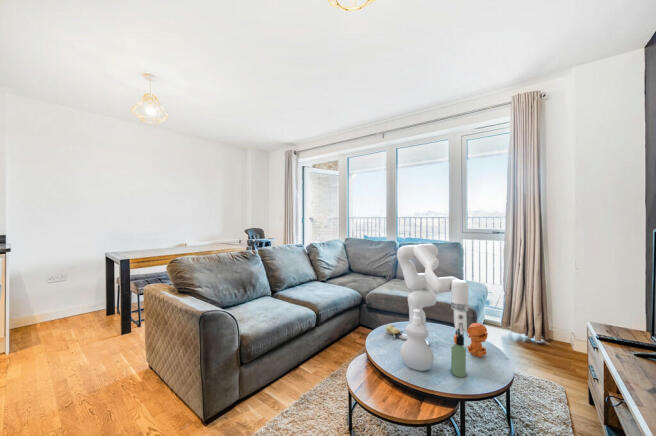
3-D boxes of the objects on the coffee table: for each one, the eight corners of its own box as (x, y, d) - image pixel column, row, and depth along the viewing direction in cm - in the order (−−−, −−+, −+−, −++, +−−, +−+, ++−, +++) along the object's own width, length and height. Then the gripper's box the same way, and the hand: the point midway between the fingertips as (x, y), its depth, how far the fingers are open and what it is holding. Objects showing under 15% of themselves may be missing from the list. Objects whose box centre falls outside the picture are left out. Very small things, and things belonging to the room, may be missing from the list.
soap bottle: (436, 366, 138) (436, 309, 138) (431, 377, 129) (431, 317, 128) (404, 356, 148) (404, 304, 147) (396, 366, 138) (396, 310, 138)
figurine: (409, 340, 172) (390, 329, 182) (411, 332, 171) (391, 321, 181) (401, 345, 165) (381, 334, 176) (402, 337, 164) (382, 326, 175)
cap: (462, 341, 133) (462, 334, 133) (464, 345, 130) (464, 338, 129) (453, 340, 134) (453, 333, 134) (455, 344, 131) (455, 337, 131)
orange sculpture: (492, 360, 143) (492, 327, 143) (470, 358, 146) (470, 325, 145) (484, 350, 154) (484, 319, 154) (464, 348, 156) (464, 318, 156)
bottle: (451, 375, 131) (451, 338, 130) (450, 368, 137) (451, 333, 136) (465, 378, 128) (466, 341, 128) (465, 371, 134) (465, 335, 134)
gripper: (471, 312, 122) (470, 352, 123) (465, 301, 138) (465, 336, 139) (453, 310, 125) (453, 349, 125) (449, 299, 141) (449, 334, 141)
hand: (459, 342), depth 132 cm, fingers closed on cap, 3 cm apart
